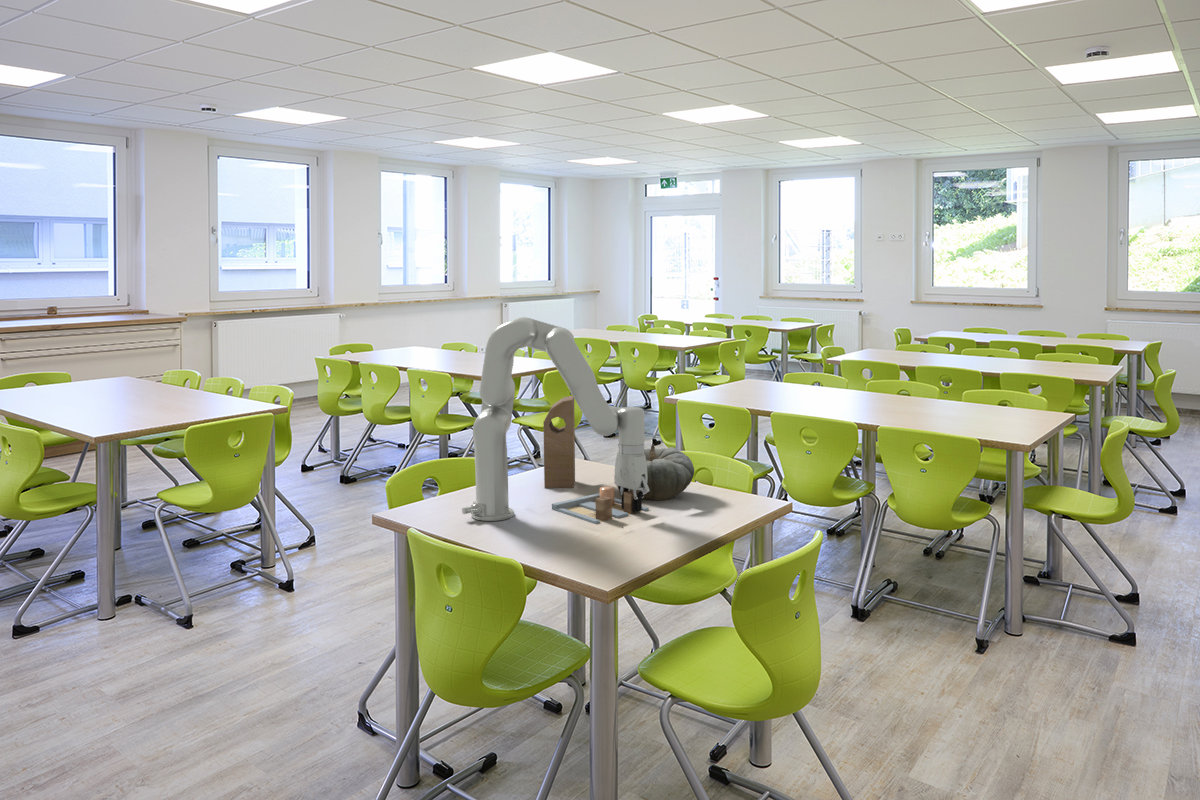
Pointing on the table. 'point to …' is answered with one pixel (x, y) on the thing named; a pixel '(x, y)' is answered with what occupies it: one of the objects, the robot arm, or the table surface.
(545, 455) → the decorative block
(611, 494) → the peach rounded cylinder
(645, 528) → the table surface
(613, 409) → the robot arm
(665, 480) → the gourd
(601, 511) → the brown wooden block
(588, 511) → the lane frame
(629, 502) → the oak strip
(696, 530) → the table surface
